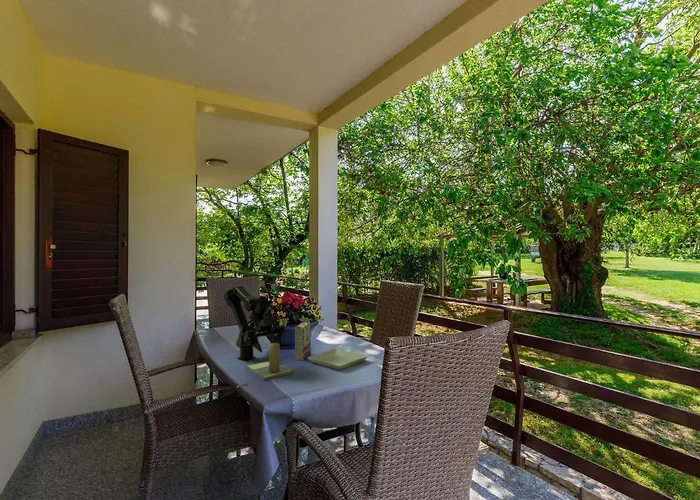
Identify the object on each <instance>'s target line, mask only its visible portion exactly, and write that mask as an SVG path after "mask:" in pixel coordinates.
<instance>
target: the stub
mask: <svg viewBox="0 0 700 500" xmlns="http://www.w3.org/2000/svg"><path fill="white" fill-rule="evenodd" d="M268 344H269V345H268V361H269V371H265V372H261V373H257V376H256V377H258V378H260V379H262V380H263V381H266V380H271V379H275V378H280V377H283V376H288V375H292V374H294V370H293V369H291V368H289V367H288V366H287V367H286V366H285V367H283V368H279V364H280V349H279V343H276V342H270V343H268Z"/></svg>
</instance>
